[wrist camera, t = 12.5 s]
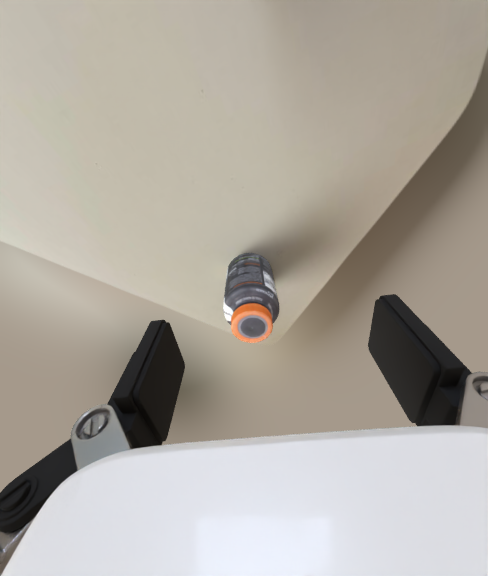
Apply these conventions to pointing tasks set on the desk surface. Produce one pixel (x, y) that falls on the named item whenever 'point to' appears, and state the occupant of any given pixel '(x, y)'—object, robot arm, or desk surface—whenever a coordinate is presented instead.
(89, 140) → the desk surface
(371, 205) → the desk surface
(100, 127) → the desk surface
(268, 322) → the pill bottle
